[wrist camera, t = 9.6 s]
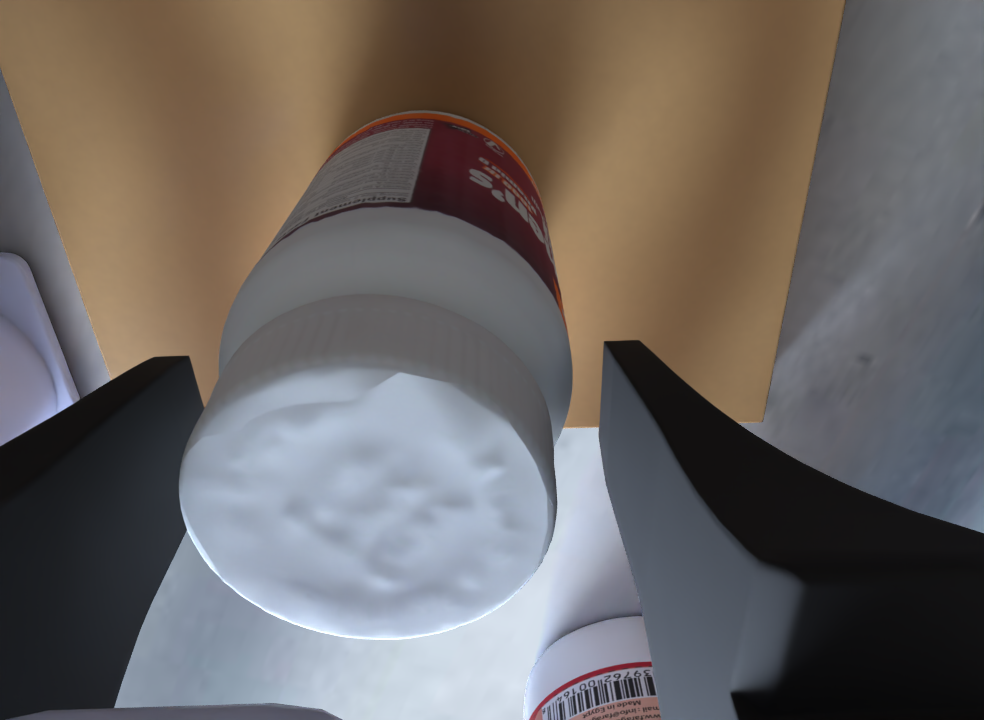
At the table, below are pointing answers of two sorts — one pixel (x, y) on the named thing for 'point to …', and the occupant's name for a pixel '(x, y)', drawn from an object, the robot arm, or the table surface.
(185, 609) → the table surface
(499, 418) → the pill bottle
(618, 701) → the fruit juice
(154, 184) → the oak board
